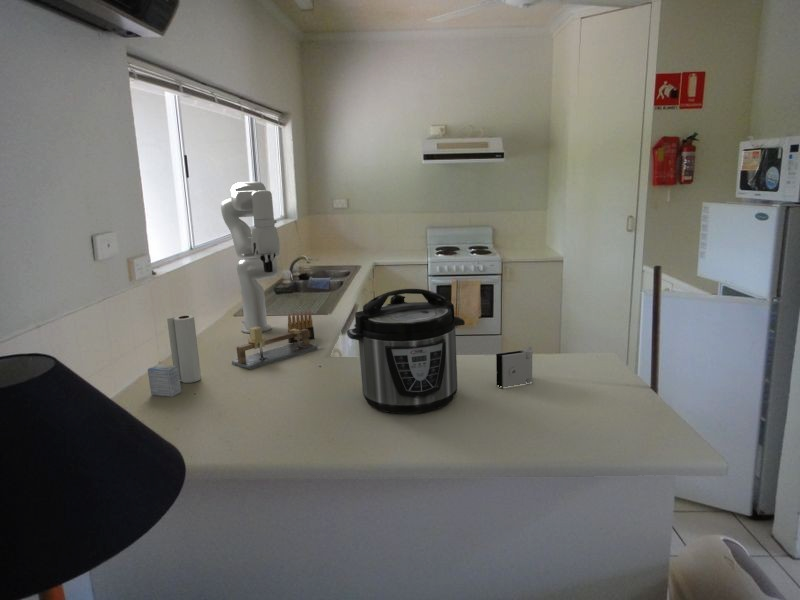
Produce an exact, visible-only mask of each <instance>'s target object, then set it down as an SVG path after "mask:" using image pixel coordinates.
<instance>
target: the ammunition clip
mask: <svg viewBox="0 0 800 600" xmlns="http://www.w3.org/2000/svg"><path fill="white" fill-rule="evenodd" d="M291 315H292V317H291ZM287 328H288V329H287V333H290V330H292V329H298V330H301V329H308V334H309V341H311V340H315V339H316V338H315V331H314V325H313V318H312V312H311V309H309V310H308V311H307V310H305V311H304V312H303V311H302V310H301V311H300V313H299V312H298V311H296V315H295V313H294V312H293V313H292V314H290V313H288V315H287ZM287 341H288V344H293V343H296V342H297V337H293V338H290V339H287ZM300 342H302V339H301V336H300Z"/></svg>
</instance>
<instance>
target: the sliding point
mask: <svg viewBox="0 0 800 600" xmlns="http://www.w3.org/2000/svg"><path fill="white" fill-rule="evenodd" d="M249 329H250V333H249V337H250V338H248V339H247V344H249V343H254V348H253V349H254V350H256V349H259V353H260V358H261V359H262V358H263V352H264V351H263V348H264V347H265V346H266V345H265V344H264V342H265V339H266V338H265V337H263V332H262V328H261V327H253V328H249Z"/></svg>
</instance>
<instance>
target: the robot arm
mask: <svg viewBox="0 0 800 600" xmlns="http://www.w3.org/2000/svg"><path fill="white" fill-rule="evenodd" d="M273 203H274V202H273V194H272V192H271V191H270V190H267V188H266V186H265V184H264V183H263V182H261V181H238V182H237V183H233V185H232V186H231V188H230V198H227V199H225V200H223V201H222V202H221V205H220V210H221V216H222V219H223V221H224V223H225V225H226V227H227V228H228V230H229V232H230V234H231V238H232V242H233V246H234V250H235V252H236V253H235V254H236V255H237V257H238V258H239V259H240V260H239V261H238V262H237V264H236V271H237V276H238V280H239V284H240V285H239V286H240V290H241V291H240V293H241V299H242V300H241V302H242V310H243V311H242V313H243V320H241V323H242V324H244V325H243V326H242V327H241V328H240V329H241V332H242V333H246V334H250V329H249V328H253V327H261V328H262V333H263V332H267V331H269V330H271V329H272V325H271V324H269V323H268V320H267V319H268V318H267V310H266V299H265V290H264V287H263V286H262V285H261V283H259V282H258V281H260V280H265V279H273V278H276V277H277V276H278V275H279V272H280V269H279V268H280V267H279V264H278V258H277V256H280V254H281V253H280V251H281V249H280V248H281V245H280V237H279V233H278V229H277V226H275V224H277V220H276V219H275V214H274V213H275V212H274V204H273ZM250 217H253V228H250V226H249V225H248V224H247V223H246V222H245V221H244V220H243V219H241V218H250Z"/></svg>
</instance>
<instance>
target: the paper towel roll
mask: <svg viewBox="0 0 800 600" xmlns="http://www.w3.org/2000/svg"><path fill="white" fill-rule="evenodd" d="M166 321H167V322H166V323H167V329H168V337H169V343H170V344H169V345H170V350H171V351H170V352H171V361H172V366H178V373H179V380H180V381H181V382H182V383H185V384H190V383H191V384H192V383H195V382H198V381H200V380H202V374H201V372H202V371H201V367H200V365H201V364H200V357H199V348H198V346H199V345H198V338H197V331H196V323H195V321H196V320H195V316H194V315H189V314H188V315H179V316H174V317H171V318H166Z"/></svg>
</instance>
